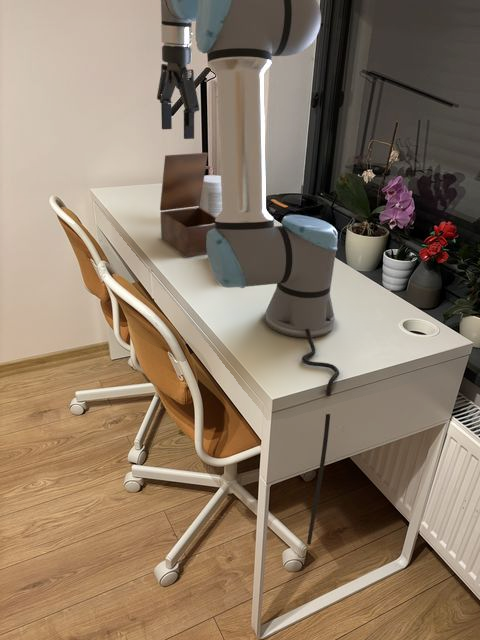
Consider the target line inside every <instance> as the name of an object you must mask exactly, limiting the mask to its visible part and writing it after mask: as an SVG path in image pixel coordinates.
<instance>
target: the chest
mask: <svg viewBox="0 0 480 640" xmlns="http://www.w3.org/2000/svg"><path fill="white" fill-rule="evenodd" d="M215 219H216V217H215V216H214V215H212V214H210V213H209V212H207V211H205V210H203V209H202V208H200V207H199V206H196V207H188V208H180V209H172V210H164V211H160V239H161V241H163V242H164V243H165V244H167V245H168V246H169V247H171V248H172V249H173V250H174V251H176V252H177V253H179V254H180V255H181V256H183V257H184V258H193V257H198V256H203V255H208V254H207V247H206V240H207V233H208V231H210V230H212V229H215Z"/></svg>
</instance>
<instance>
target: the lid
mask: <svg viewBox="0 0 480 640" xmlns="http://www.w3.org/2000/svg"><path fill="white" fill-rule="evenodd" d="M208 156H209V154H208V152H196V153H181V154H166V155H164V162H163V173H162V182H161V183H162V184H161V194H160V204H159V210H160V212H163V211H171V210H179V209H187V208H195V207H199V206H200V201H201V195H202V188H203V182H204V176H206V168H207V161H208Z"/></svg>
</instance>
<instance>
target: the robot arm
mask: <svg viewBox="0 0 480 640" xmlns="http://www.w3.org/2000/svg"><path fill="white" fill-rule="evenodd" d="M160 14H161V15H160V18H161V25H160V30H161V31H160V32H161V34H160V35H161V36H160V38H161V43H162V44H163V45H162V46H161V61H162V62H164V63H161V65H160V68H161V69H160V77H159V83H158V88H157V94H156V99H157V100H158V101H159V103H160V109H161V114H160V115H161V130H172V128H173V123H172V121H173V120H172V103H173V102H172V98H173V95H174V91H175V89H177V90H178V92H179V95H180V98H181V101H182V104H183V107H184V109H183V111H182V112H183V139H184V140H193V139H195V113H196V112H199V111H200V104H199V98H198V94H197V88H196V83H195V77H194V75H195V72H194V69H190V68H189V69H188V67H187V65H189V64H191V63H192V61H193V60H192V57H193V56H192V54H193V53H192V52H193V51H192V47H190V46H191V45H192V36H193V31H192V22H195V32H194V33H195V34H194V35H195V42H196V48H197V50H198V51H199V52H200V53H202V54H207V55H206V57H207V66H208V68H209V69H210V70H211V71H212V72H213V73H214V74H215V76H216V90H217V91H216V93H217V96H216V97H217V116H218V140H219V141H218V142H219V144H218V145H219V163H220V164H219V165H220V176H221V192H222V211H221V213H220V214H219V215H218V216H217V217H216V219H215V229H212V230H210V231H208V233H207V240H206V247H207V254H206V255H207V258H208V259H207V260H208V263H209V267H210V270H211V273H212V274H213V275H212V276H213V277H214V278H215V280H216V282H217V283H218V284H219V285H220V286H222V287H223V288H226V289H227V288H228V289H231V288H240V289H245V288H246V287H257V286H266V285H276V287H275V290H274V292H273V294H272V297H271V299H270V301H269V304H268V305H267V308H266V311H265V322H266V324H267V326H269V328H271V329H272V330H274V331H276V332H277V333H279V334H282V335H285V336H289V337H293V338H302V339H307V341H308V344H309V347H310V349H311V351H310V352H308V353H306V354H304V355H303V356H302V358H301V361H302V362H303V363H304V364H306V365H308V366H311V367H319V368H320V367H321V368H328V369H331V370H332V371H333V372H334V374H333V375H332V376H331V377H330V378H329V380H328V381H327V385H326V391H325V395H326V396H327V397H330V396H331V394H332V386H333V384H334V382H335V381H336V380H337V378H338V377H339V375H340V370H339V368H338V367H336V366H335V365H334V364H332V363H328V362H319V361H311V360H309V358H311V357H314V356H315V354H316V351H317V350H316V349H317V348H316V345H315V343H314V341H313V338H318V337H321V336H325V335H326V334H329V333H330V332H331V331H332V330H333V328H334V325H335V313H334V307H333V301H332V298H331V297H332V296H331V288H332V287H331V286H332V281H333V273H334V269H335V268H334V267H335V261H336V253H337V251H338V231H337V229H336V228H335V226H333V225H332V224H330V223H329V222H327V221H325V220H322V219H319V218H316V217H313V216H308V215H302V214H288V215H285V216H284V217H283V218H282V220H281V225H275V218H274V216H273V215H272V214H271V213H270V212H269V211H268V210H267V194H266V193H267V191H266V189H267V188H266V187H267V186H266V143H265V142H266V141H265V140H266V135H265V85H264V84H265V82H264V81H265V80H264V75H265V73H266V72H267V71H268V70H269V69H270V67H271V66H272V64H273V63H272V57H289V56H293V55H297V54H300V53H301V52H303V51H304V50H306V49H307V48H309V47H310V46H311V45H312V44H313V43H314V41H315V40H316V38H317V36H318V34H319V32H320V28H321V24H322V14H321V9H320V5H319V3H318V1H317V0H160ZM330 421H331V413H325V421H324V431H323V440H322V447H321V456H320V461H319V462H320V463H319V468H318V474H317V475H318V476H317V481H316V488H315V492H314V493H315V494H314V499H313V505H312V509H311V510H312V511H311V515H310V522H309V528H308V533H307V534H308V535H307V540H306V544H307V545H308V546H311V545H312V539H313V532H314V526H315V521H316V516H317V511H318V505H319V498H320V494H321V493H320V492H321V487H322V481H323V476H324V470H325V463H326V455H327V449H328V441H329V433H330V431H329V430H330V424H331V423H330Z"/></svg>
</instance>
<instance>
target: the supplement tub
mask: <svg viewBox="0 0 480 640" xmlns="http://www.w3.org/2000/svg"><path fill="white" fill-rule="evenodd" d="M198 207H200V208H202V209H203V210H205V211H207V212H209V213H210V214H212V215H214V216H215V217H217V216H218V215H219V214H220V213H221V211H222V192H221V175H218V174H217V175H216V174H209V175H208V174H207V175H206V174H205V175H204V182H203V188H202V195H201V201H200V206H198Z"/></svg>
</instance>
